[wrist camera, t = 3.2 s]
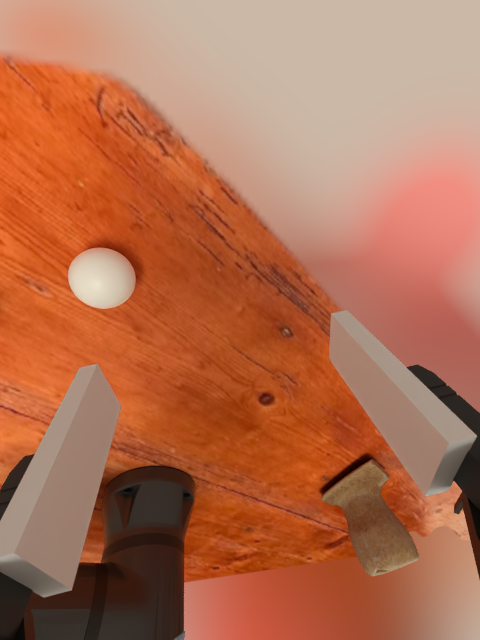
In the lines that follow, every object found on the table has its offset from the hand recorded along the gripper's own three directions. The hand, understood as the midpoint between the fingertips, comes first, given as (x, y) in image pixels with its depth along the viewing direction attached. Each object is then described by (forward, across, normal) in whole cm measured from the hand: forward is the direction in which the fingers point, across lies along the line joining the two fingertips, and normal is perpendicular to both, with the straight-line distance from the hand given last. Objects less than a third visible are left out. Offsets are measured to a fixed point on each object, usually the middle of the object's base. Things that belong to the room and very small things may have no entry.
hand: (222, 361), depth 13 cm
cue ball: (+15, +10, 0) cm, 18 cm away
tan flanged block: (+18, -21, +54) cm, 61 cm away
